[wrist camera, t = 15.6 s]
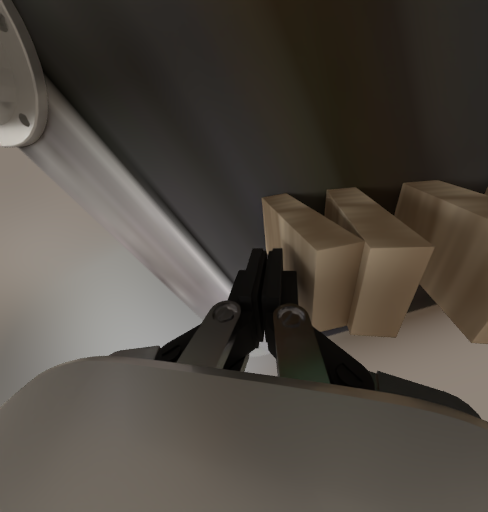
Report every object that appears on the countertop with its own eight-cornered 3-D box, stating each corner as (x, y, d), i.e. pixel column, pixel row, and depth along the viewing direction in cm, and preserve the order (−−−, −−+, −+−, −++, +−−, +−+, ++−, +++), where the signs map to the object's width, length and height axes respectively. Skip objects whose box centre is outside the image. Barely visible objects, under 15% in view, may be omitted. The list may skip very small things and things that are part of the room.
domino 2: (321, 247, 17) (350, 334, 10) (326, 189, 15) (370, 248, 7) (346, 246, 17) (396, 337, 9) (355, 187, 14) (435, 246, 7)
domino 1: (266, 252, 18) (311, 333, 10) (261, 197, 15) (316, 251, 7) (287, 247, 18) (347, 325, 10) (286, 193, 15) (364, 241, 8)
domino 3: (385, 245, 16) (471, 343, 9) (402, 182, 13) (546, 244, 6) (413, 244, 16) (530, 347, 8) (437, 179, 13) (638, 242, 6)
